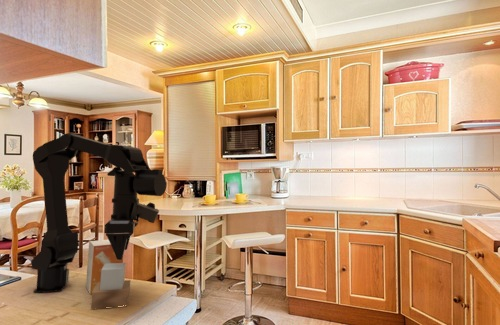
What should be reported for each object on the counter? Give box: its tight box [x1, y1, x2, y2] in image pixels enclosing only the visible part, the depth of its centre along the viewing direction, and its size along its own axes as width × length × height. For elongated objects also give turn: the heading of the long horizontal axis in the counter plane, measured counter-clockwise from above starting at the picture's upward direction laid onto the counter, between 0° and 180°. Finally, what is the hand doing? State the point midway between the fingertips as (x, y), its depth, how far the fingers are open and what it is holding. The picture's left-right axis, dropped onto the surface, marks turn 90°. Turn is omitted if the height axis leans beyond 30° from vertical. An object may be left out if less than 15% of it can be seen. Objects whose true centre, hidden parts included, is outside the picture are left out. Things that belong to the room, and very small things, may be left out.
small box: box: [85, 238, 124, 295], centre depth 84 cm, size 8×6×13 cm
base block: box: [90, 279, 131, 310], centre depth 75 cm, size 8×7×4 cm
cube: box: [100, 262, 126, 291], centre depth 75 cm, size 5×5×5 cm
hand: (122, 254), depth 76 cm, fingers open, 9 cm apart
